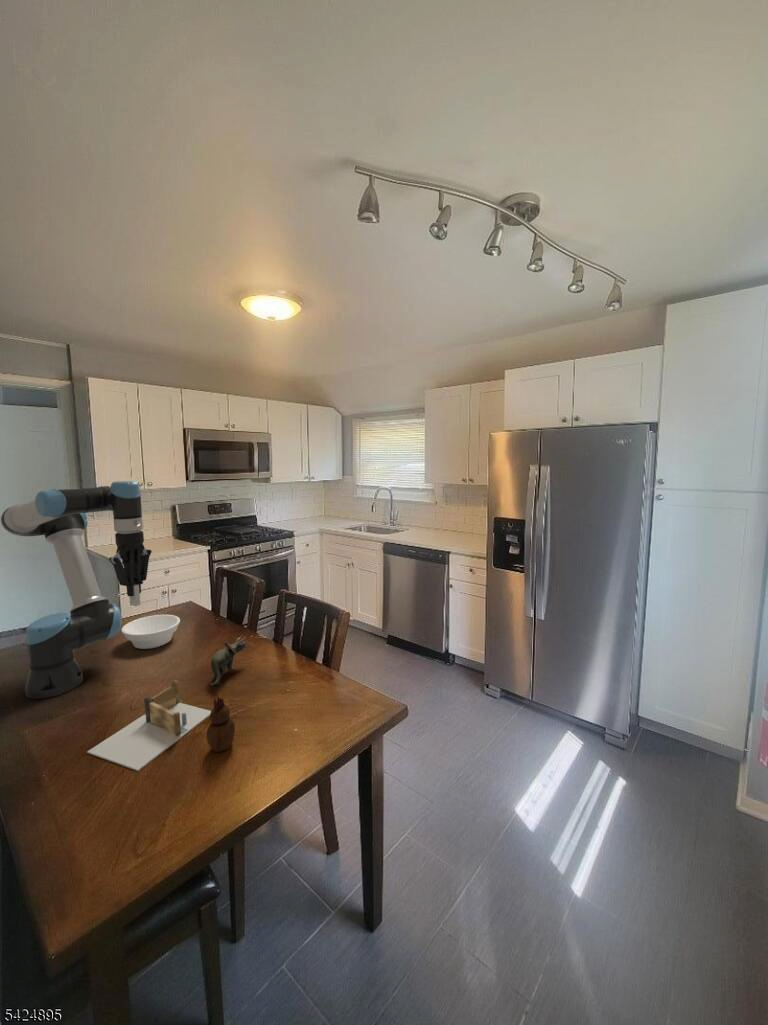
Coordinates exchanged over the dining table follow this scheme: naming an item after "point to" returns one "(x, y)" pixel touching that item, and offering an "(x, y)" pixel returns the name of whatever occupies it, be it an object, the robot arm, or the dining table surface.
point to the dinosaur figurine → (225, 659)
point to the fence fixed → (163, 699)
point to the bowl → (151, 630)
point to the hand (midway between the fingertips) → (135, 604)
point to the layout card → (146, 738)
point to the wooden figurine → (220, 727)
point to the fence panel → (165, 718)
